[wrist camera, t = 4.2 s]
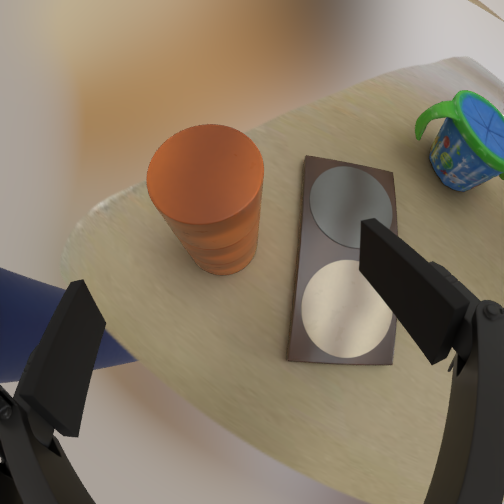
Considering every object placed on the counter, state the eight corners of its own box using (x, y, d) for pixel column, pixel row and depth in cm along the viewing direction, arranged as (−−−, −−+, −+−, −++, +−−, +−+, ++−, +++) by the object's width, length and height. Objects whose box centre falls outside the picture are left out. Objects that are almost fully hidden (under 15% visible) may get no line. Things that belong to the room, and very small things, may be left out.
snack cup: (398, 177, 30) (442, 124, 20) (401, 116, 32) (432, 65, 22) (490, 223, 28) (540, 193, 19) (485, 162, 31) (523, 127, 21)
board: (285, 359, 24) (287, 361, 23) (303, 161, 30) (305, 154, 28) (387, 364, 24) (393, 365, 23) (388, 177, 30) (393, 171, 28)
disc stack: (183, 270, 26) (132, 218, 14) (196, 206, 28) (163, 122, 16) (252, 279, 26) (256, 232, 14) (261, 214, 28) (269, 128, 16)
